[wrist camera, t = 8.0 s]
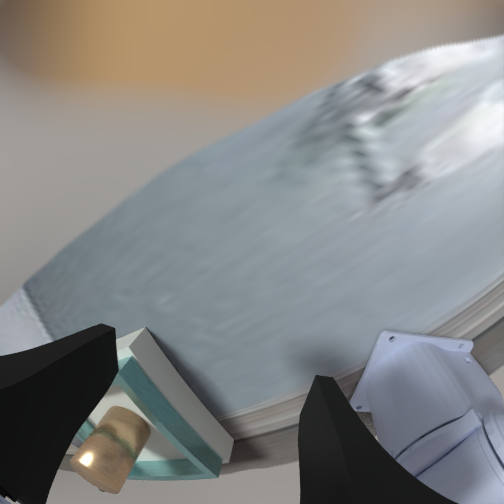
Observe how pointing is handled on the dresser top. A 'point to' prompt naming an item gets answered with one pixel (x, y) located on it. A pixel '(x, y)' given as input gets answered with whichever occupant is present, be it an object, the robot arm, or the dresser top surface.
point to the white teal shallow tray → (173, 390)
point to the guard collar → (162, 431)
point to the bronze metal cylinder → (111, 449)
